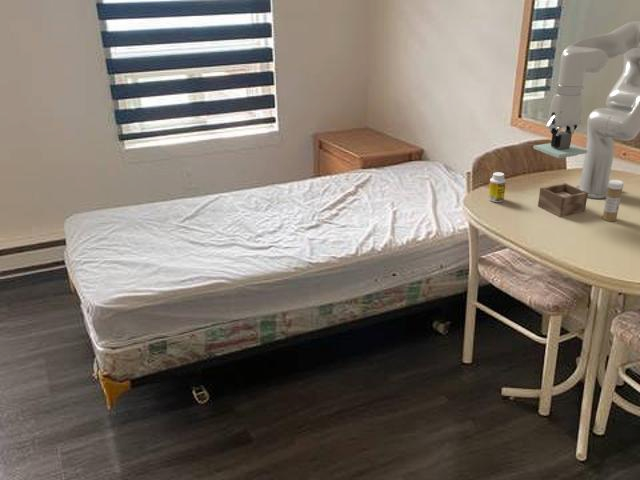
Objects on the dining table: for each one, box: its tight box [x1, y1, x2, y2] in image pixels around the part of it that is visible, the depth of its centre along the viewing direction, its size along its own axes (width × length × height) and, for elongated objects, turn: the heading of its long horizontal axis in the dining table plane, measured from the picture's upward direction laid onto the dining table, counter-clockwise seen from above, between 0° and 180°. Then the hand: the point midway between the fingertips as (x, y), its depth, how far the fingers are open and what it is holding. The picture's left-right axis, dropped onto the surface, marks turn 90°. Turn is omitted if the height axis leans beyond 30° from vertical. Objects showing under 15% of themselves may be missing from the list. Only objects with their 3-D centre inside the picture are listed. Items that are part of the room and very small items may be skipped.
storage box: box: [537, 182, 588, 218], centre depth 208 cm, size 11×11×7 cm
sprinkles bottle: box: [601, 179, 625, 222], centre depth 197 cm, size 5×5×13 cm
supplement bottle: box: [488, 171, 507, 203], centre depth 216 cm, size 6×6×10 cm
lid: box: [533, 130, 587, 159], centre depth 198 cm, size 12×12×7 cm
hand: (560, 145), depth 198 cm, fingers closed on lid, 4 cm apart
